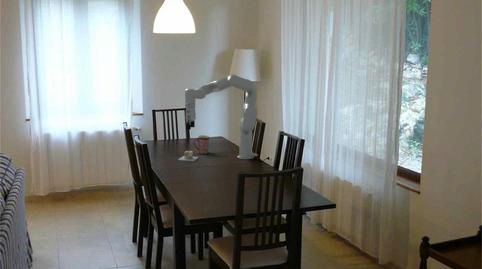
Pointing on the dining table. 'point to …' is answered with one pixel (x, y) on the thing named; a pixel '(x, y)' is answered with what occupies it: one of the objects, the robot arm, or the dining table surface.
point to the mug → (202, 144)
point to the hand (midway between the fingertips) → (190, 128)
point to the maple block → (188, 154)
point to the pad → (188, 159)
